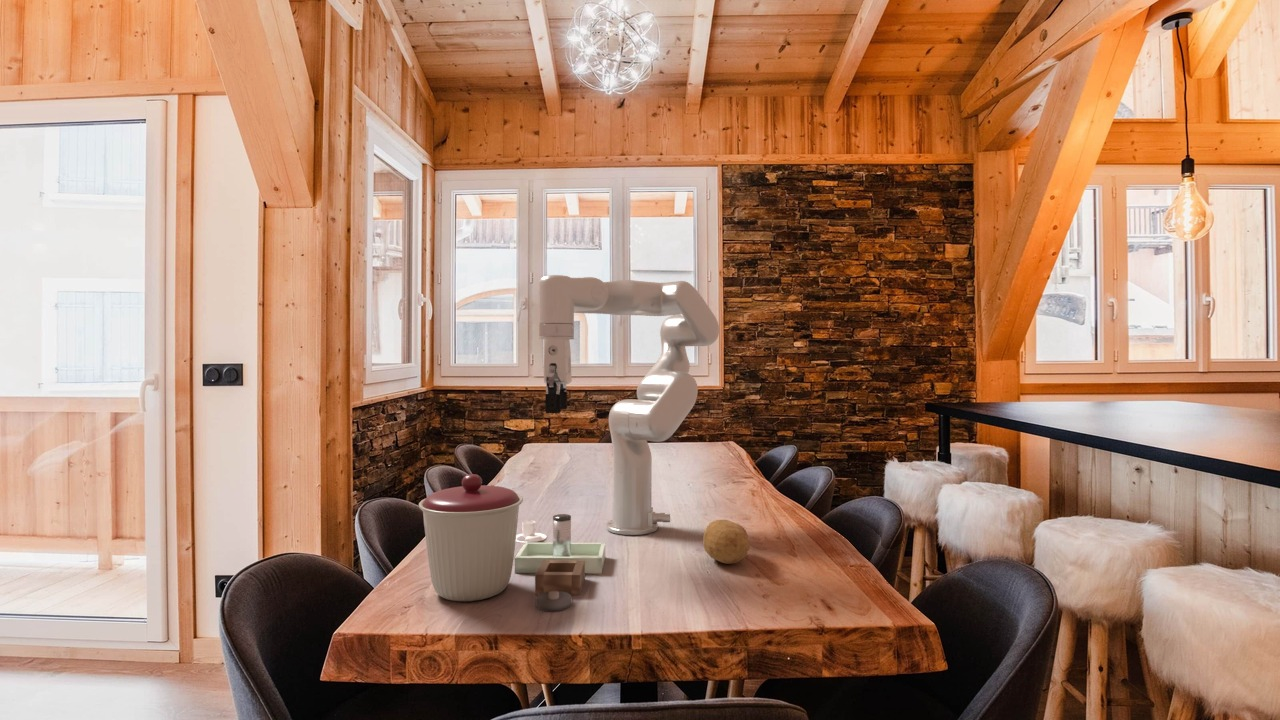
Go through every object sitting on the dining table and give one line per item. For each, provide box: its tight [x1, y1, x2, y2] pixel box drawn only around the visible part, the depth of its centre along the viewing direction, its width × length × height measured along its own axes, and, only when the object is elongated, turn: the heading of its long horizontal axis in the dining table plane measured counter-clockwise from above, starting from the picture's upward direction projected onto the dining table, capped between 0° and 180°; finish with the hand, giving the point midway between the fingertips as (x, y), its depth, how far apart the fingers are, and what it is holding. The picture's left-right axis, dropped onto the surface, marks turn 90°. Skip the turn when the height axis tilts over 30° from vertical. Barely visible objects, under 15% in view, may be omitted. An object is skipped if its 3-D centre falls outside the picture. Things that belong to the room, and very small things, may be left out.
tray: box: [514, 541, 606, 574], centre depth 129 cm, size 17×10×3 cm, turn 89°
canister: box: [418, 473, 524, 602], centre depth 114 cm, size 18×18×21 cm
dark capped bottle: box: [552, 513, 572, 557], centre depth 129 cm, size 4×4×9 cm
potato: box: [702, 519, 751, 565], centre depth 131 cm, size 10×14×8 cm
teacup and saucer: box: [515, 520, 548, 544], centre depth 147 cm, size 9×8×4 cm
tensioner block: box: [534, 560, 586, 613], centre depth 113 cm, size 8×16×4 cm, turn 179°
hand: (556, 411), depth 139 cm, fingers open, 9 cm apart
